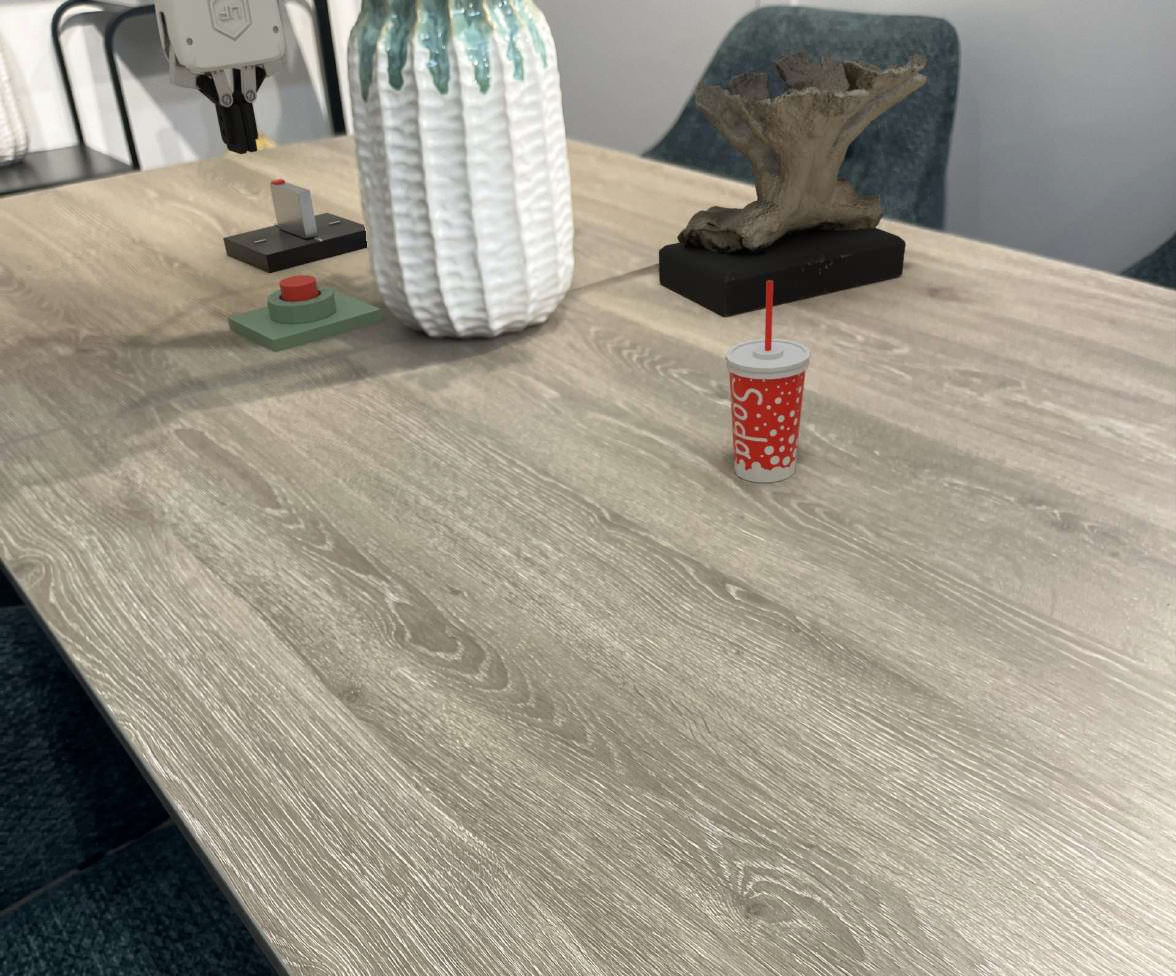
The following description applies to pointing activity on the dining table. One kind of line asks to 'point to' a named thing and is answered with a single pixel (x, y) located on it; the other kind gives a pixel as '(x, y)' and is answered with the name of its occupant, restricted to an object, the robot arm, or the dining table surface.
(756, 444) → the beverage cup
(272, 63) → the robot arm
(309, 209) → the upright grey panel
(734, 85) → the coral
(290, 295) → the button
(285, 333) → the button block
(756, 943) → the dining table surface
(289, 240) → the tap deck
